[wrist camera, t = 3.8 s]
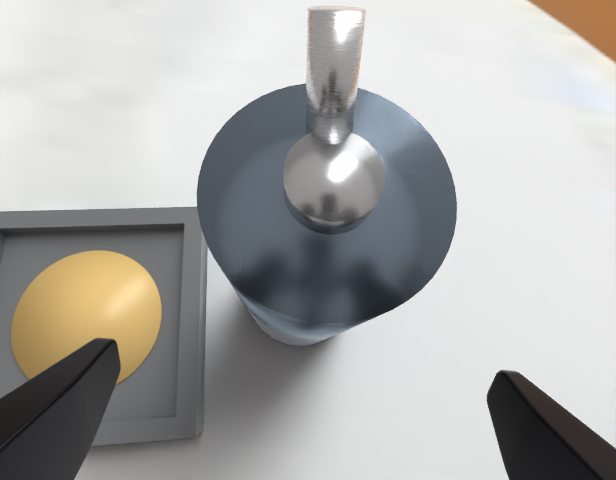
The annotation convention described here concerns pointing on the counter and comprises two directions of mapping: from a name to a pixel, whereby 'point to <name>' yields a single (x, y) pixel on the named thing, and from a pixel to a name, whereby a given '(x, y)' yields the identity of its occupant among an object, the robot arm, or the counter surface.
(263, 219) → the spout can
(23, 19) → the counter surface
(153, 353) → the tray
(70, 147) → the counter surface
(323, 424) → the counter surface
